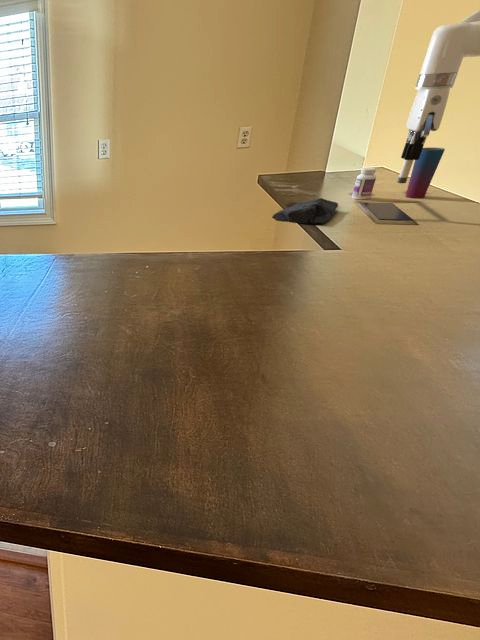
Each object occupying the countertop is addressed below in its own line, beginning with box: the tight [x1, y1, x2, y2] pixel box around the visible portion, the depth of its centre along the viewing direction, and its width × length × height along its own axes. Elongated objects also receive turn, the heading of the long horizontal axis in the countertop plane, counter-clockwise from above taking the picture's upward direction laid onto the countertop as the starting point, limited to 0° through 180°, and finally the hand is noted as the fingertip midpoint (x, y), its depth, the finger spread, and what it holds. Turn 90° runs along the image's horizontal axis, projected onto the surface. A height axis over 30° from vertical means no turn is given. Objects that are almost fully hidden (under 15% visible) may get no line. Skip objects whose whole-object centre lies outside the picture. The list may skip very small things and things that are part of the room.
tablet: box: [357, 201, 420, 226], centre depth 145 cm, size 16×24×1 cm, turn 158°
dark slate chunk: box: [271, 197, 339, 225], centre depth 149 cm, size 15×22×5 cm
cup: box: [405, 146, 446, 199], centre depth 158 cm, size 7×7×15 cm
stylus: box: [396, 136, 415, 184], centre depth 131 cm, size 2×2×12 cm
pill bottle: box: [351, 167, 377, 200], centre depth 163 cm, size 5×5×10 cm
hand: (409, 158), depth 131 cm, fingers closed on stylus, 2 cm apart
